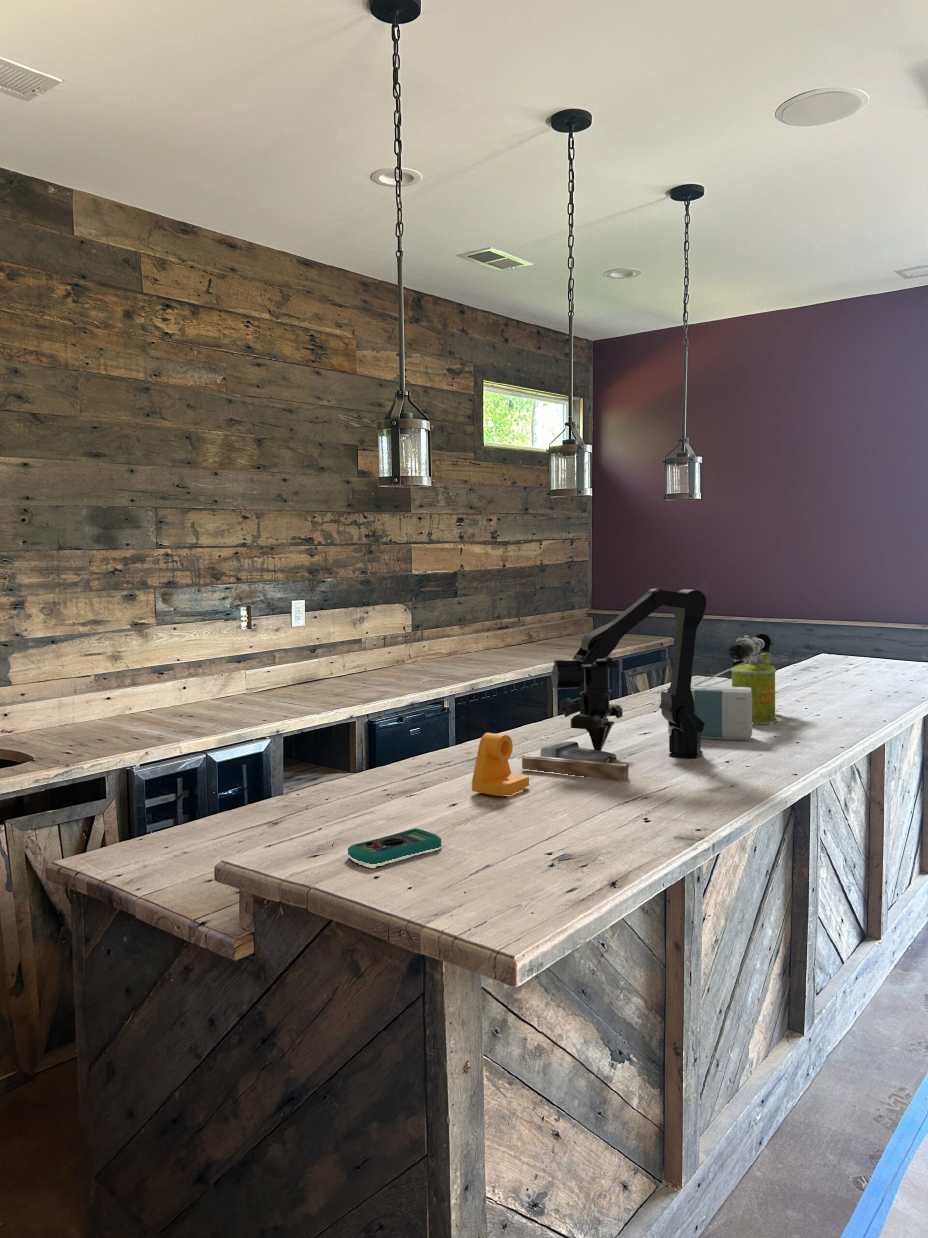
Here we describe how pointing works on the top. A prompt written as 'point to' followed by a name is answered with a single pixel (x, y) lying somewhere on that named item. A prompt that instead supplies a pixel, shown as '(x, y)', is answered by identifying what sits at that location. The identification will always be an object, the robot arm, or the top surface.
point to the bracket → (496, 767)
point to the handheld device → (577, 753)
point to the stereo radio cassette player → (723, 710)
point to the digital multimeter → (394, 846)
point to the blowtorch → (755, 675)
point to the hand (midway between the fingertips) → (597, 752)
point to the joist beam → (577, 767)
